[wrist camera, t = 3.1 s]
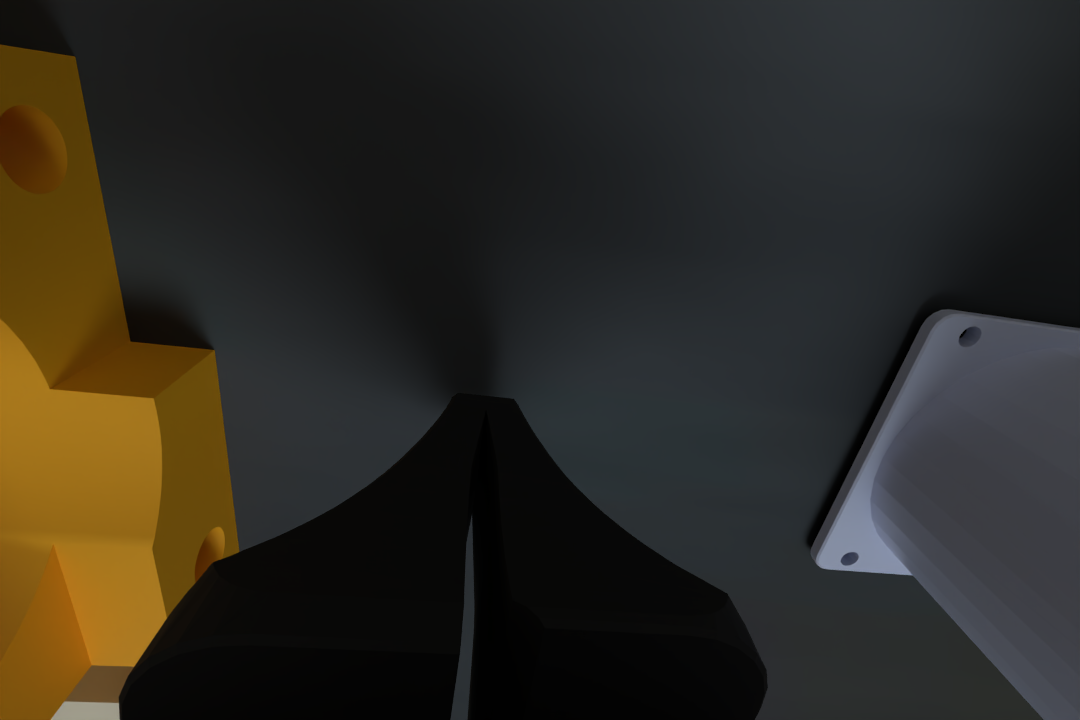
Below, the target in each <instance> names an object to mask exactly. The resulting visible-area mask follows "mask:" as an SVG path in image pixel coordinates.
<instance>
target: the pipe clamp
mask: <svg viewBox="0 0 1080 720" xmlns="http://www.w3.org/2000/svg"><path fill="white" fill-rule="evenodd" d="M238 552H239V546H238V538H237V530H236V521H235V513H234V505H233V497H232V489H231V480H230V472H229V464H228V456H227V448H226V439H225V431H224V423H223V415H222V407H221V399H220V390H219V382H218V374H217V366H216V358H215V350H209V349H199V348H189V347H179V346H169V345H159V344H149V343H140V342H130V336H129V331H128V326H127V321H126V316H125V311H124V306H123V300H122V295H121V290H120V285H119V280H118V275H117V269H116V264H115V259H114V254H113V249H112V244H111V239H110V233H109V228H108V223H107V218H106V213H105V208H104V202H103V197H102V192H101V187H100V182H99V177H98V171H97V166H96V161H95V156H94V151H93V146H92V141H91V135H90V130H89V125H88V120H87V115H86V110H85V104H84V99H83V94H82V89H81V84H80V79H79V73H78V68H77V63H76V58H75V56H68V55H62V54H56V53H50V52H44V51H38V50H31V49H25V48H19V47H13V46H7V45H1V44H0V720H51V719H52V717H53V716H54V715H55V713H56V712H57V711H58V709H59V708H60V707H61V705H62V704H63V703H64V701H65V700H66V699H67V697H68V696H69V695H70V693H71V692H72V691H73V689H74V688H75V687H76V685H77V684H78V683H79V681H80V680H81V679H82V678H83V676H84V675H85V674H86V672H87V671H88V670H89V668H90V667H91V666H92V665H96V666H130V667H134V666H135V665H136V663H137V662H138V660H139V659H140V657H141V656H142V654H143V653H144V651H145V650H146V648H147V647H148V645H149V644H150V643H151V641H152V640H153V638H154V637H155V635H156V634H157V632H158V631H159V629H160V628H161V626H162V625H163V623H164V622H165V620H166V619H167V617H168V616H169V615H170V613H171V612H172V611H173V609H174V608H175V607H176V605H177V604H178V603H179V602H180V600H181V599H182V598H183V597H184V595H185V594H186V593H187V592H188V591H189V590H190V588H191V587H192V586H193V585H194V584H195V583H196V582H197V581H198V579H199V578H200V577H201V576H202V574H203V573H204V572H205V571H206V570H207V568H208V567H209V566H210V565H211V564H212V563H213V562H215V561H218V560H220V559H223V558H226V557H229V556H231V555H233V554H236V553H238Z"/></svg>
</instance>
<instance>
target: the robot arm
mask: <svg viewBox="0 0 1080 720" xmlns="http://www.w3.org/2000/svg"><path fill="white" fill-rule="evenodd" d="M966 329H967V331H966V333H965V334H964V335H963V337H961V338H960V339H959V337H960V335H961V334H962V332H963V331H964V330H966ZM471 516H472V524H473V563H474V600H475V611H474V637H473V652H472V666H471V680H470V694H469V708H468V720H755V718H756V716H757V714H758V712H759V710H760V708H761V706H762V703H763V700H764V697H765V694H766V691H767V688H768V686H767V672H766V668H765V666H764V664H763V662H762V660H761V658H760V656H759V654H758V652H757V649H756V647H755V645H754V643H753V641H752V638H751V636H750V634H749V632H748V630H747V628H746V626H745V624H744V622H743V620H742V619H741V617H740V615H739V613H738V612H737V610H736V608H735V606H734V605H733V603H732V601H731V599H730V598H729V596H728V594H727V593H725V592H723V591H722V590H720V589H718V588H716V587H714V586H713V585H711V584H709V583H707V582H705V581H704V580H702V579H700V578H698V577H696V576H695V575H693V574H691V573H689V572H687V571H686V570H684V569H682V568H680V567H678V566H677V565H675V564H673V563H672V562H670V561H669V560H667V559H666V558H664V557H663V556H661V555H660V554H658V553H657V552H655V551H654V550H652V549H650V548H649V547H647V546H646V545H644V544H643V543H642V542H640V541H639V540H637V539H636V538H635V537H633V536H632V535H631V534H629V533H628V532H627V531H625V530H624V529H623V528H622V527H620V526H619V525H618V524H617V523H615V522H614V521H613V520H612V519H610V518H609V517H608V516H607V515H605V514H604V513H603V512H602V511H601V510H600V509H599V508H597V507H596V506H595V505H594V504H593V503H592V502H591V501H590V500H589V499H588V498H587V497H586V496H585V495H584V494H583V493H582V492H581V491H580V490H579V489H578V488H577V487H576V486H575V485H574V484H573V483H572V482H571V481H570V480H569V479H568V478H567V477H566V475H565V474H564V473H563V472H562V471H561V469H560V468H559V467H558V466H557V464H556V463H555V462H554V461H553V459H552V458H551V457H550V455H549V454H548V452H547V451H546V450H545V448H544V447H543V445H542V444H541V442H540V441H539V439H538V438H537V437H536V435H535V433H534V432H533V430H532V429H531V427H530V425H529V424H528V422H527V420H526V419H525V417H524V415H523V413H522V411H521V410H520V408H519V406H518V404H517V403H516V401H515V400H514V399H509V398H499V397H490V396H481V395H472V394H462V393H457V394H456V395H455V396H453V397H452V399H451V401H450V403H449V404H448V406H447V407H446V409H445V410H444V412H443V413H442V414H441V416H440V417H439V418H438V420H437V421H436V422H435V423H434V424H433V426H432V427H431V428H430V429H429V430H428V431H427V433H426V434H425V435H424V436H423V437H422V438H421V439H420V440H419V441H418V442H417V443H416V444H415V445H414V446H413V447H412V448H411V449H410V450H409V451H408V452H407V453H406V454H405V455H404V456H403V457H402V458H401V459H400V460H399V461H398V462H397V463H395V464H394V465H393V466H392V467H391V468H390V469H388V470H387V471H386V472H385V473H384V474H382V475H381V476H380V477H378V478H377V479H376V480H375V481H373V482H372V483H371V484H369V485H368V486H367V487H365V488H364V489H362V490H361V491H359V492H358V493H356V494H355V495H353V496H352V497H350V498H349V499H347V500H346V501H344V502H343V503H341V504H339V505H338V506H336V507H335V508H333V509H331V510H329V511H327V512H326V513H324V514H322V515H320V516H318V517H316V518H314V519H313V520H311V521H309V522H307V523H305V524H303V525H301V526H299V527H296V528H294V529H292V530H290V531H288V532H286V533H284V534H282V535H280V536H277V537H275V538H273V539H270V540H268V541H265V542H263V543H260V544H258V545H256V546H253V547H251V548H248V549H246V550H243V551H241V552H238V553H236V554H233V555H231V556H229V557H226V558H223V559H220V560H218V561H215V562H213V563H212V564H211V565H210V566H209V567H208V568H207V570H206V571H205V572H204V573H203V574H202V576H201V577H200V578H199V579H198V581H197V582H196V583H195V584H194V585H193V586H192V587H191V588H190V590H189V591H188V592H187V593H186V594H185V595H184V597H183V598H182V599H181V600H180V602H179V603H178V604H177V605H176V607H175V608H174V609H173V611H172V612H171V613H170V615H169V616H168V617H167V619H166V620H165V622H164V623H163V625H162V626H161V628H160V629H159V631H158V632H157V634H156V635H155V637H154V638H153V640H152V641H151V643H150V644H149V645H148V647H147V648H146V650H145V651H144V653H143V654H142V656H141V657H140V659H139V660H138V662H137V663H136V665H135V666H134V668H133V669H132V671H131V672H130V674H129V675H128V677H127V679H126V681H125V684H124V686H123V688H122V690H121V693H120V695H119V717H120V720H450V718H451V711H452V704H453V697H454V690H455V683H456V676H457V669H458V662H459V655H460V646H461V634H462V621H463V608H464V583H465V558H466V541H467V536H468V531H469V526H470V521H471ZM810 553H811V557H812V558H813V559H814V561H815V562H816V564H817V565H818V566H819V567H821V568H824V569H832V570H846V571H860V572H874V573H888V574H902V575H913V576H914V577H915V578H916V579H917V580H918V582H919V583H920V584H921V585H922V586H923V587H924V588H925V589H926V590H927V591H928V593H929V594H930V595H931V596H932V597H933V598H934V599H935V600H936V601H937V602H938V604H939V605H940V606H941V607H942V608H943V609H944V610H945V611H946V612H947V613H948V615H949V616H950V617H951V618H952V619H953V620H954V621H955V622H956V623H957V625H958V626H959V627H960V628H961V629H962V630H963V631H964V632H965V633H966V634H967V636H968V637H969V638H970V639H971V640H972V641H973V642H974V643H975V644H976V645H977V647H978V648H979V649H980V650H981V651H982V652H983V653H984V654H985V655H986V656H987V658H988V659H989V660H990V661H991V662H992V663H993V664H994V665H995V666H996V667H997V669H998V670H999V671H1000V672H1001V673H1002V674H1003V675H1004V676H1005V677H1006V678H1007V680H1008V681H1009V682H1010V683H1011V684H1012V685H1013V686H1014V687H1015V688H1016V689H1017V691H1018V692H1019V693H1020V694H1021V695H1022V696H1023V697H1024V698H1025V699H1026V701H1027V702H1028V703H1029V704H1030V705H1031V706H1032V707H1033V708H1034V709H1035V710H1036V712H1037V713H1038V714H1039V715H1040V716H1041V717H1042V718H1043V719H1044V720H1080V328H1074V327H1067V326H1060V325H1054V324H1047V323H1040V322H1033V321H1026V320H1020V319H1013V318H1006V317H999V316H992V315H985V314H979V313H972V312H965V311H958V310H951V309H946V310H940V311H938V312H935V313H933V314H932V315H931V316H929V317H928V318H927V319H926V320H925V321H924V323H923V324H922V326H921V327H920V330H919V332H918V334H917V336H916V338H915V340H914V342H913V344H912V346H911V348H910V350H909V352H908V354H907V356H906V358H905V360H904V362H903V364H902V366H901V368H900V370H899V372H898V374H897V376H896V378H895V380H894V382H893V384H892V386H891V388H890V390H889V392H888V394H887V396H886V398H885V400H884V402H883V404H882V406H881V408H880V410H879V412H878V414H877V416H876V418H875V420H874V422H873V424H872V426H871V428H870V430H869V432H868V434H867V436H866V438H865V440H864V442H863V444H862V446H861V448H860V451H859V453H858V455H857V457H856V459H855V461H854V463H853V465H852V467H851V469H850V471H849V473H848V475H847V477H846V479H845V481H844V483H843V485H842V487H841V489H840V491H839V493H838V495H837V497H836V499H835V501H834V503H833V505H832V507H831V509H830V511H829V513H828V515H827V517H826V519H825V521H824V523H823V525H822V527H821V529H820V531H819V533H818V535H817V537H816V539H815V541H814V543H813V545H812V547H811V551H810Z"/></svg>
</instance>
